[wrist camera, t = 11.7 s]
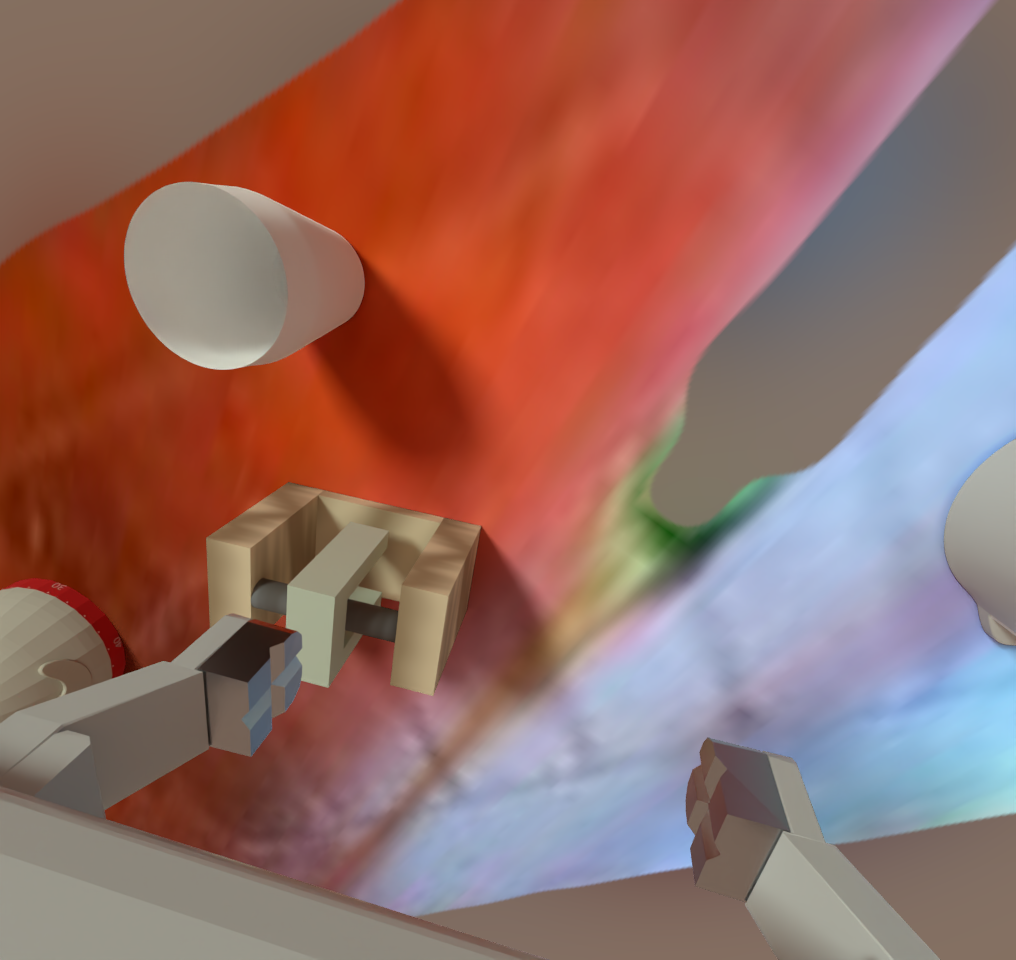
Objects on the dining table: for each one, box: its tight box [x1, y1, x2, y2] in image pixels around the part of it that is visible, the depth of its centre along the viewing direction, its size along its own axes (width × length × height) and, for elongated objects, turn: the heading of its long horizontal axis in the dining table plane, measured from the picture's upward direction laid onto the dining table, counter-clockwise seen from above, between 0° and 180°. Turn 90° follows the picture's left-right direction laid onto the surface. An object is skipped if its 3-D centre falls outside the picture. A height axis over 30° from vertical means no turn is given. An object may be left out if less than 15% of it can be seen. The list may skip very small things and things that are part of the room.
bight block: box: [286, 522, 389, 688], centre depth 38 cm, size 3×7×9 cm, turn 169°
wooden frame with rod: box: [206, 482, 481, 696], centre depth 40 cm, size 16×8×10 cm, turn 80°
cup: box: [124, 182, 365, 370], centre depth 32 cm, size 9×9×12 cm
